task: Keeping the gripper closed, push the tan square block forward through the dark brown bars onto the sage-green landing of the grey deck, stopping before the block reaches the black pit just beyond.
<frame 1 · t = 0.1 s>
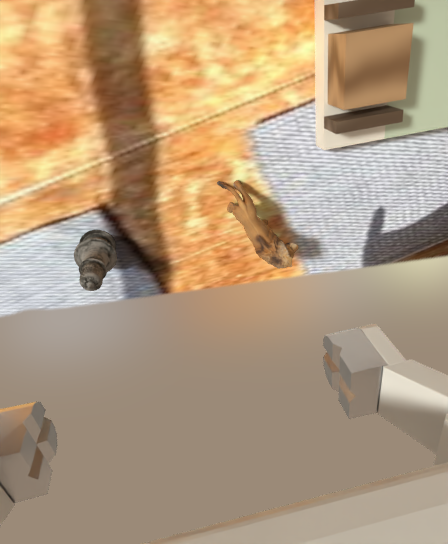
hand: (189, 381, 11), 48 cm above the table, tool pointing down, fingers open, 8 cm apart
lion figurine: (251, 214, 62), on the table
dark brown bars: (365, 66, 49), on the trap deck, point 5 cm above the table
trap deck: (417, 52, 54), on the table
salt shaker: (98, 245, 60), on the table
tan square block: (357, 65, 51), point 3 cm above the table, touching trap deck
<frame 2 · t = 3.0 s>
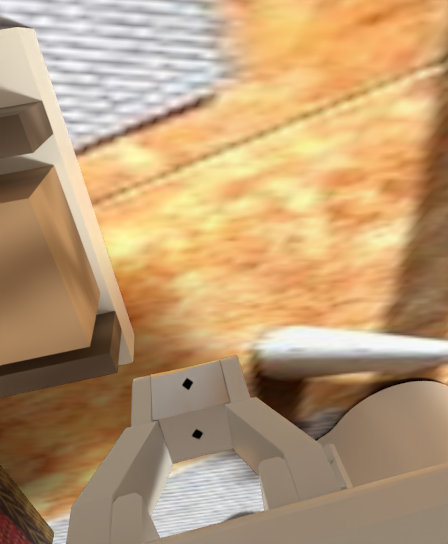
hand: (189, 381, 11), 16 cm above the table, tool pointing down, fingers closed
tan square block: (7, 248, 22), point 3 cm above the table, touching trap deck
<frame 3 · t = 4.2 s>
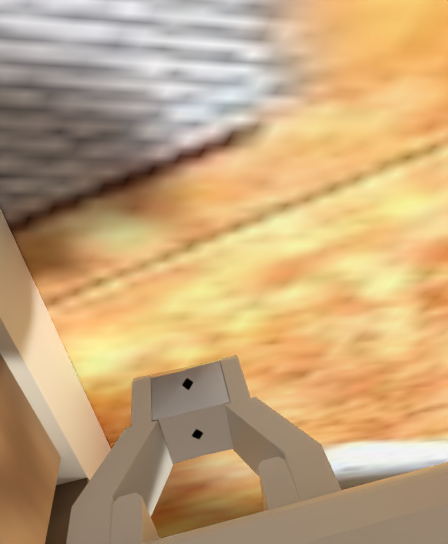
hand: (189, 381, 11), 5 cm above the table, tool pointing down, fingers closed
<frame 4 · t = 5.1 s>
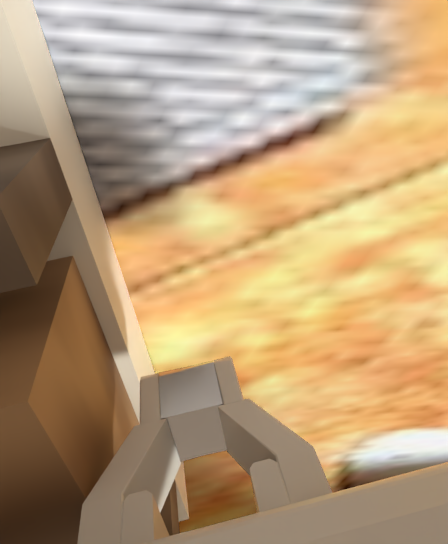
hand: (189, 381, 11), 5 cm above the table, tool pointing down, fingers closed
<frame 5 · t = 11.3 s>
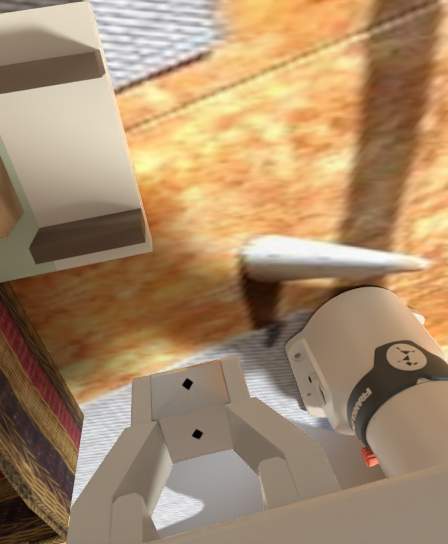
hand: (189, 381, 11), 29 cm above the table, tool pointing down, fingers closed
dark brown bars: (66, 163, 31), on the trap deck, point 5 cm above the table
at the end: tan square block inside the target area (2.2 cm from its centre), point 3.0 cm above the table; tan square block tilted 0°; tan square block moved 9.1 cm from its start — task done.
